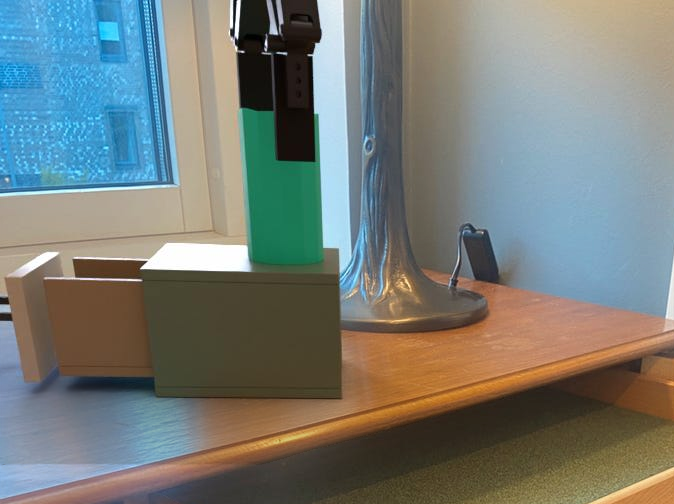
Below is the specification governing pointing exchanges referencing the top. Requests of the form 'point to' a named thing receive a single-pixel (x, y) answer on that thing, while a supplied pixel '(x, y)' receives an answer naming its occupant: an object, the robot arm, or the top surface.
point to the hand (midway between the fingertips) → (275, 153)
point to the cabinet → (242, 324)
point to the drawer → (79, 317)
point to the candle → (279, 196)
